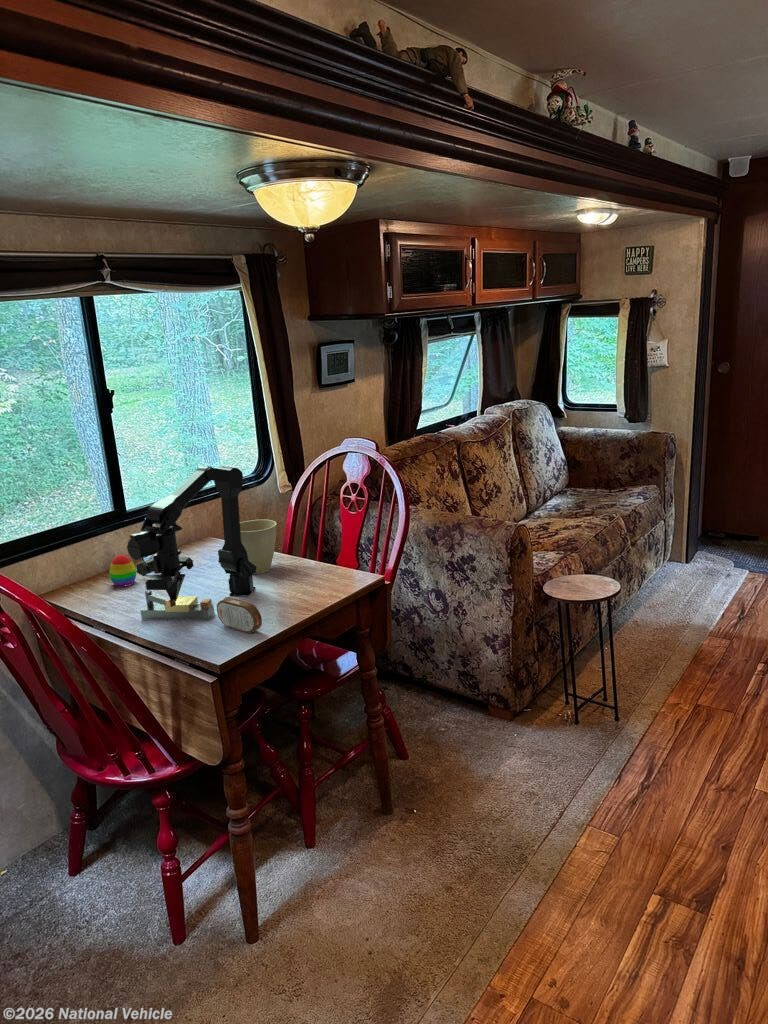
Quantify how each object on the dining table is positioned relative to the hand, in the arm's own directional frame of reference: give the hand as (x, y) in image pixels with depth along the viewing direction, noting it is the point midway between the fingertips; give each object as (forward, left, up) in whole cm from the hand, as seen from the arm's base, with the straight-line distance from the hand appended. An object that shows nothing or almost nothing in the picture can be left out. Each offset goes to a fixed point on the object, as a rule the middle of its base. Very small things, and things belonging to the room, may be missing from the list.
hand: (174, 601), depth 198 cm
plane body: (+1, -3, -6) cm, 7 cm away
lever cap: (-1, -3, -3) cm, 4 cm away
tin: (-20, +5, -6) cm, 22 cm away
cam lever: (+4, 0, -3) cm, 5 cm away
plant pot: (-11, -42, -6) cm, 44 cm away
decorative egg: (+31, -30, -6) cm, 43 cm away
